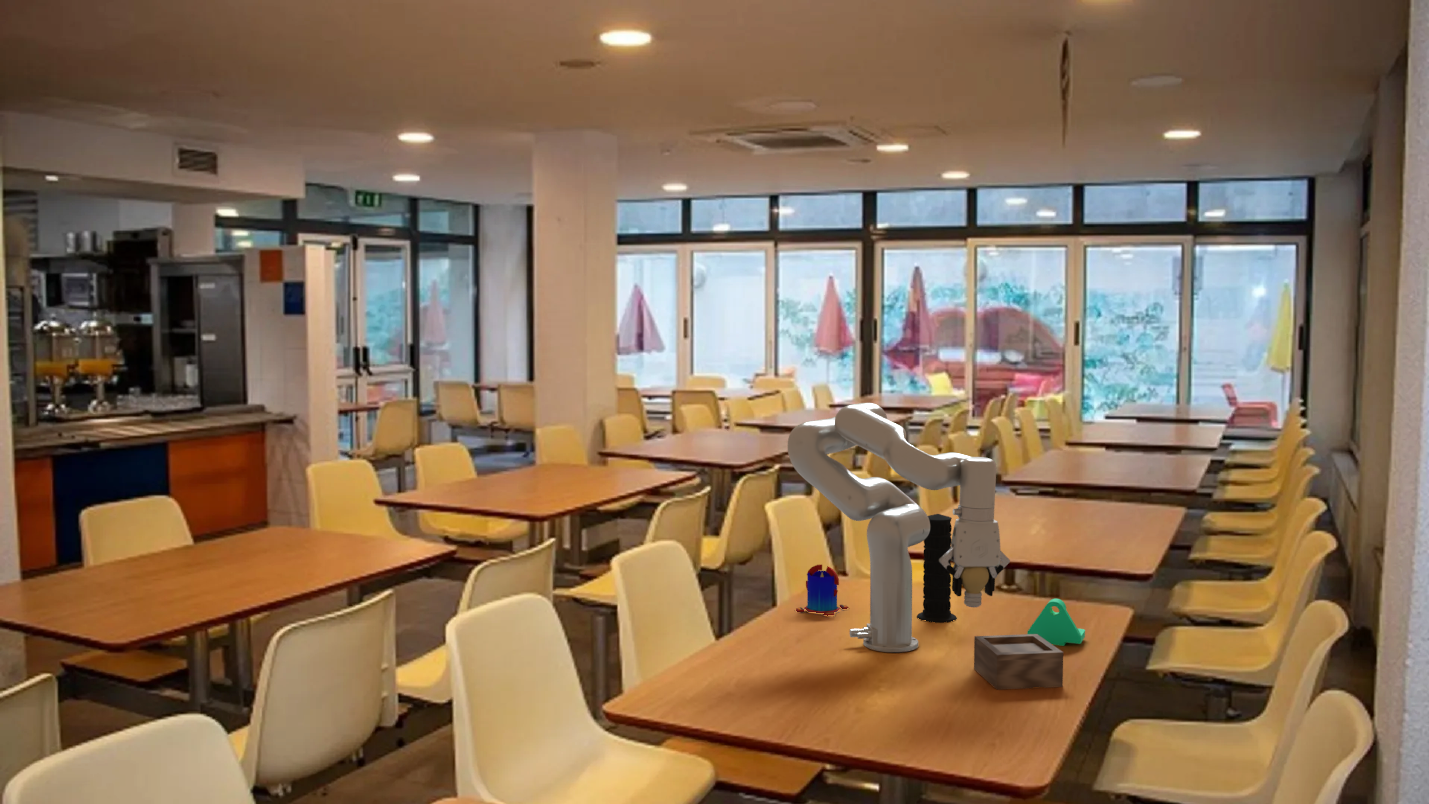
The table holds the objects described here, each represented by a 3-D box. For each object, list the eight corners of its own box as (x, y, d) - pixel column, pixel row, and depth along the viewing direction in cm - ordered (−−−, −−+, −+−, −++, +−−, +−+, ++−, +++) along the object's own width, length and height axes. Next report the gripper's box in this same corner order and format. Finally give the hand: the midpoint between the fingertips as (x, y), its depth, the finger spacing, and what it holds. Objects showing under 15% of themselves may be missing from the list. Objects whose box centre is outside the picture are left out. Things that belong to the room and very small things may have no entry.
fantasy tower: (852, 608, 310) (852, 562, 310) (832, 618, 300) (832, 571, 300) (812, 602, 317) (812, 558, 316) (791, 612, 307) (791, 566, 306)
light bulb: (987, 611, 258) (989, 565, 257) (957, 608, 259) (959, 563, 258) (987, 603, 264) (989, 559, 263) (957, 601, 266) (959, 557, 265)
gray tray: (996, 689, 243) (997, 654, 243) (974, 669, 257) (974, 636, 257) (1062, 686, 245) (1063, 652, 244) (1036, 666, 259) (1037, 634, 258)
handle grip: (941, 611, 307) (908, 615, 303) (942, 509, 305) (909, 512, 301) (965, 620, 298) (931, 624, 294) (966, 515, 296) (932, 518, 292)
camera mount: (1085, 640, 280) (1086, 597, 279) (1080, 648, 273) (1081, 604, 272) (1033, 634, 285) (1034, 592, 284) (1027, 642, 278) (1027, 599, 278)
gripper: (943, 517, 255) (939, 599, 257) (1021, 517, 257) (1017, 598, 259) (932, 510, 263) (929, 590, 264) (1008, 510, 265) (1005, 590, 266)
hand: (973, 594), depth 262 cm, fingers closed on light bulb, 6 cm apart
